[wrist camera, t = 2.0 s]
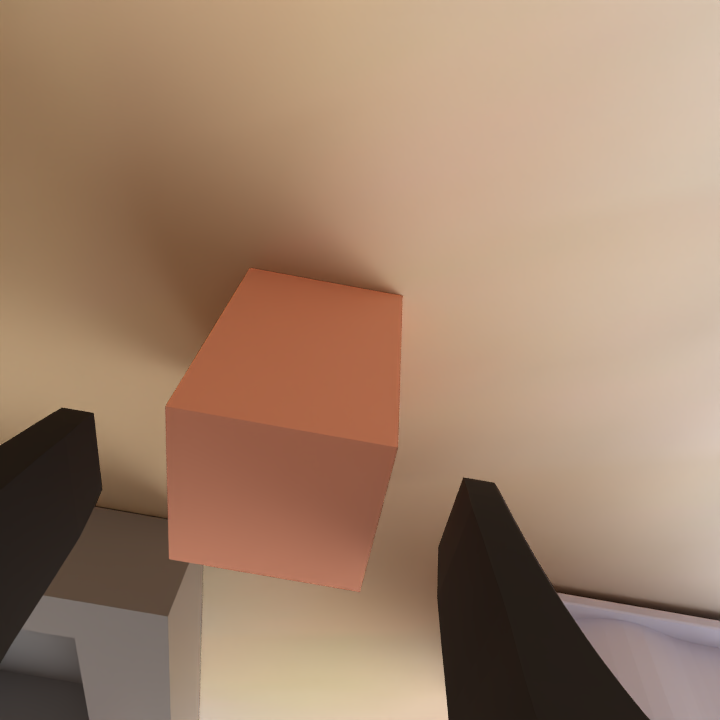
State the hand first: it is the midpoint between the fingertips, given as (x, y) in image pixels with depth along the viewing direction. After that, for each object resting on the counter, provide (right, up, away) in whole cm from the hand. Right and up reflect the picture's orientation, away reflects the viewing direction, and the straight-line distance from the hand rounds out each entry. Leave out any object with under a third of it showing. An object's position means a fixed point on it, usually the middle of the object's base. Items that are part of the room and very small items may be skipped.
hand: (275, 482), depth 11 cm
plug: (0, +3, +5) cm, 5 cm away
